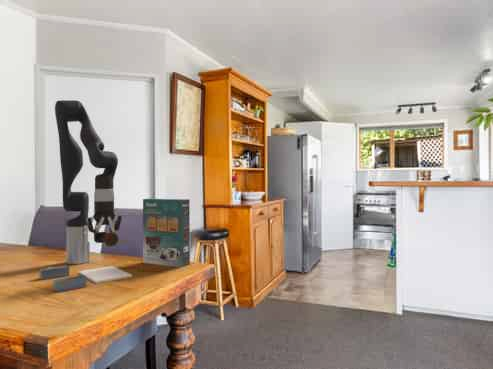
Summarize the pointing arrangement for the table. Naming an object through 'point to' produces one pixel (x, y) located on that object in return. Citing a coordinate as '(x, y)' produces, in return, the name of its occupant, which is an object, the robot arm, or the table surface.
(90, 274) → the board
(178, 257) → the cake mix box
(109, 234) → the bolt
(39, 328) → the table surface
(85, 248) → the robot arm
